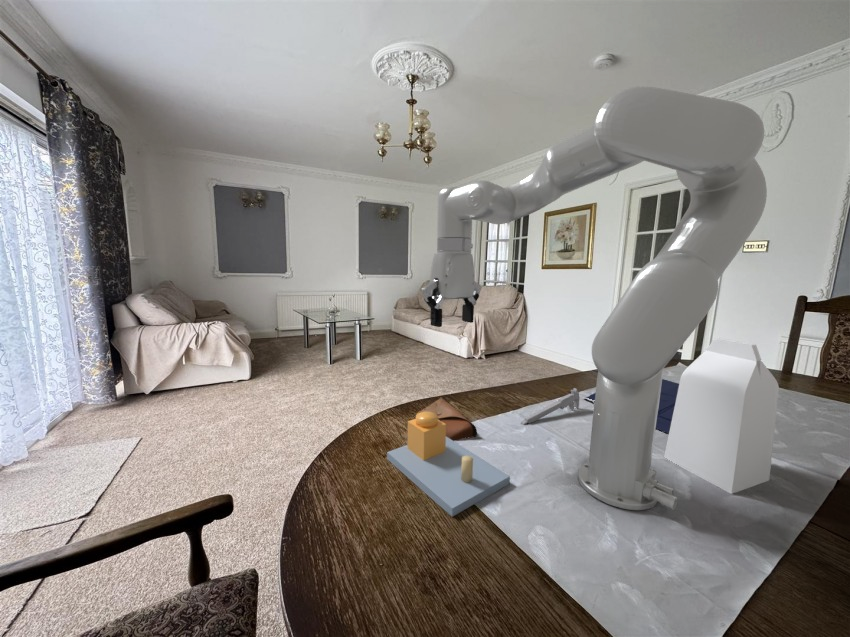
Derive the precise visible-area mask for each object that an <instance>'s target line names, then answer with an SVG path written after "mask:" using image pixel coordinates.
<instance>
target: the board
mask: <svg viewBox="0 0 850 637" xmlns="http://www.w3.org/2000/svg"><path fill="white" fill-rule="evenodd" d="M386 459H387V460H388V461H389V462H390V463H391V464H392V466H395V468H396V469H398V470H399V471H400V472H401V473H402V474H403V475H404V476H405V477H407V478H408V479H409V480H410V481H411V482H413V483H414V485H416V486H417V487H418V488H419V490H421V491H423V492H424V493H425V494H426V495H427V496H428V497H429V498H430V499H432V500H433V501H434V502H435V503H436V504H437V506H439V507H440V508H441V509H442V510H444V511H445V512H446V513H447V514H448V515H449V516H450V517H454V516H456V515H458V514H460V513H461V512H464V510H466V509H469V508H470V507H471V506H473V505H476V504H477V503H479V502H480V501H482V500H484V499H486V498H487V497H490V496H491V495H493V494H494V493H496V492H498V491H500V490H502V489H503V488H505V487H506V486H508V485H509V484H510V482H511V481H510V479H511V478H510V477H511V476H510V475H508V474H507V473H505V472H503V471H502V470H500V468H497V467H496V466H494V465H493V464H491V463H489V462H488V461H486V460H485V459H484V458H482V457H480V456H478V455H477V454H475V453H473V452H472V451H470V450H469V449H467V448H466V447H463V445H460V444H459V443H458V442H456V441H453V440H451V439H450V438H448V437H446V446H445V452H443V453H441V454H438V455H436V456H434V457H431V458H429V459H426V460H424V461H423V460H422V459H421V458H419V457H418V456H417V455H416V454H414V453H413V452H412V451H410V450H409V449H408V444H405V445H403V446H401V447H398V448H395V449H392V450H390V451H387V452H386Z"/></svg>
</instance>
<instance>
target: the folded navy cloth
mask: <svg viewBox="0 0 850 637" xmlns="http://www.w3.org/2000/svg"><path fill="white" fill-rule="evenodd" d="M678 388H679V383H678V382H675V381H671V380H668V379H665V378H662V384H661V392H660V400H659V408H658V413H657V421H656V429H655V430H658V431H661V432H664V433H665V434H668V435H669V431H670V426H671V422H672V417H673V412H674V407H675V403H676V398H677V393H678ZM595 393H596V392H593V393H592V394H590V395H588V396H586V397H585V398H589V399H592V400H595Z"/></svg>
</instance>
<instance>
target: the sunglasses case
mask: <svg viewBox="0 0 850 637" xmlns="http://www.w3.org/2000/svg"><path fill="white" fill-rule="evenodd" d="M439 397H440V398H439V399H437V400H436V401H434V402H432V403H431V404H429V405H427V406H426V407H425V408H423V409H422V410H420V411H417V414H418V413H420V412H433V413H435V414H436V415H437V416H438V420H440V421H441V422H443V423H445V424H446V437H448V438H450V439H451V440H453V441H454V442H456V441H459V440H466V439H468V438H469V439H470V438H475V437H477V434H478V432H477V427H476V426H475V425H474V423H473V422H471V421H470V420H468V419H467V418H466V417H465V416H464V415H463V414H462V413H461V412H459V411H458V410H457V408H455V407H454V406H452V405H451V404H450V403H449V402H448V401H446V400H445V399H444V398H443V397H441V396H439Z"/></svg>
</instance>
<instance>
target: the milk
mask: <svg viewBox="0 0 850 637" xmlns="http://www.w3.org/2000/svg"><path fill="white" fill-rule="evenodd" d="M758 349H759V348H758V347H757V344H754V343H751V342H743V341H738V340H732V339H727V338H721V337H715V338H713V340H712V341H711V343H710V344H709V345H708V347H707V348H706V349H705V350H704V351H703V352H702V353H701V354H700V355H699V356H698V357H696V359H694V361H692V363H690V364H689V365H688V366H687V367H686V368H685V370H684V371H683V372H682V374H681V375H680V379H679V383H678V384H679V388H678V393H677V398H676V403H675V407H674V412H673V417H672V422H671V426H670V431H669V434H668V437H667V442H666V446H665V452H664V456H663V458H664V457H665V458H667V459H668V460H667V459H666V460H667V461H669V460H670V461H669V462H671V461H672V462H673V463H672V462H671V463H672V464H674V463H675V465H676V464H677V465H676V466H678V465H679V466H678V467H680V468H682V469H684V470H685V471H688V472H689V473H691V474H693V475H694V476H697V477H699V478H701V479H703V480H705V481H707V482H708V483H710V484H712V485H713V486H715V487H718V488H719V489H721V490H722V491H723V490H724V491H725V492H726V493H729V494H731V495H733V494H734V493H739V492H741V491H744V490H747V489H749V488H752V487H754V486H757V485H760V484H763V483H765V482H769V481H770V477H771V476H770V475H771V467H772V459H773V449H774V439H775V430H776V419H777V412H778V401H779V392H780V387H779V383H778V381H777V379H776V378H775V376H774V375H773V373H772V372H771V371H770V370H769V369H768V367H767V366H766V365H765V364H764V363H765V362H763V361H762V358H761V355H760V353H759V350H758ZM665 458H664V459H665Z"/></svg>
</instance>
